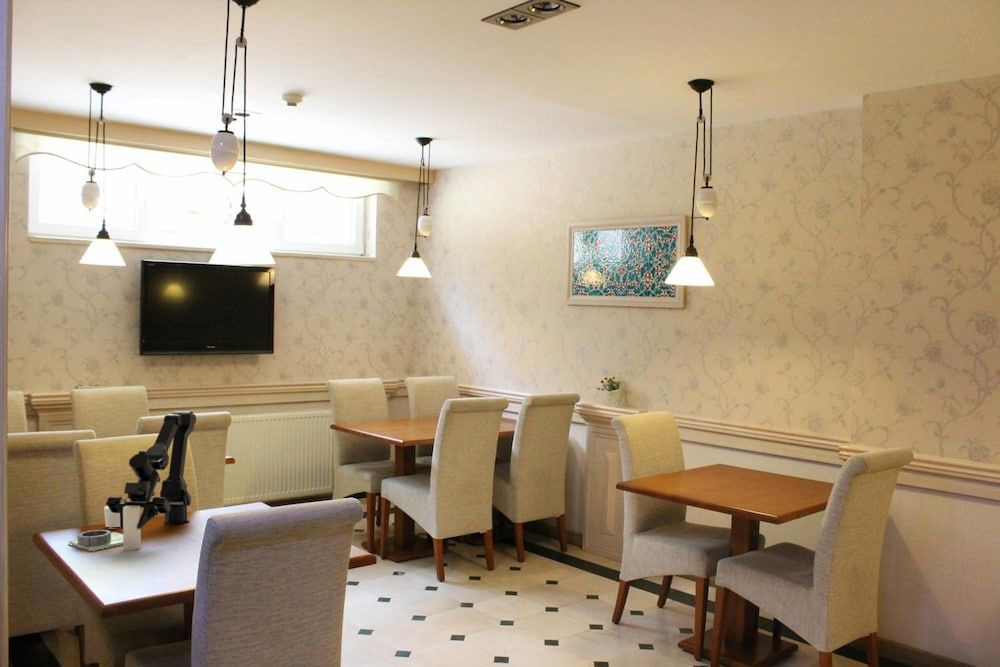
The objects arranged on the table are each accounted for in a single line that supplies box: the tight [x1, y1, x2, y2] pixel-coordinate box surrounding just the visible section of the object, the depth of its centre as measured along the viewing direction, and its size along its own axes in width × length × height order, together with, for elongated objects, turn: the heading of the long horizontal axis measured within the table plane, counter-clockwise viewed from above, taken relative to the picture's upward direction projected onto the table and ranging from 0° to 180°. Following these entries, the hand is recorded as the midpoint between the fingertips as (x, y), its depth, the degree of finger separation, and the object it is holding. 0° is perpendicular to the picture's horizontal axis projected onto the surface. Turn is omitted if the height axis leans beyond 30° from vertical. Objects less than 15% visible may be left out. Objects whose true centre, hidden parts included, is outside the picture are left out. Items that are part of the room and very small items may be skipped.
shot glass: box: [103, 505, 120, 529], centre depth 294 cm, size 7×7×7 cm
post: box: [122, 505, 142, 551], centre depth 266 cm, size 5×5×13 cm
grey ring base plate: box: [68, 529, 123, 552], centre depth 272 cm, size 15×14×4 cm
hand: (129, 528), depth 265 cm, fingers closed on post, 5 cm apart
